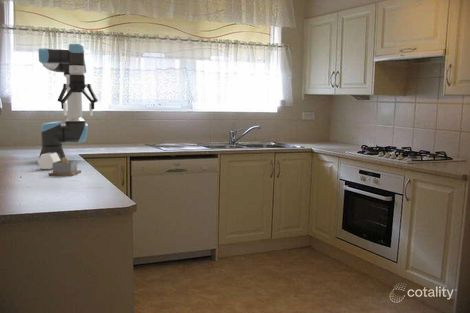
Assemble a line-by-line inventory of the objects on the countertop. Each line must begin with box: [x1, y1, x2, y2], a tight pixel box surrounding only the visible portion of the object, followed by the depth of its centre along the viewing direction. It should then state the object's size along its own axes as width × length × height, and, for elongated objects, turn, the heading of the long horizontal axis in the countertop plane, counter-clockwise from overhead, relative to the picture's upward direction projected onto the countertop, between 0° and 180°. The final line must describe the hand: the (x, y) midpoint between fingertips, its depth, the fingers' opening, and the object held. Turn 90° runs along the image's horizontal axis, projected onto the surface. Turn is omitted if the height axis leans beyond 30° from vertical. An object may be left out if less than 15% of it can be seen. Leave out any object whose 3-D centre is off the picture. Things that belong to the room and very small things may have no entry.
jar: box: [36, 152, 62, 170], centre depth 270 cm, size 9×8×12 cm
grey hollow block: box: [52, 160, 78, 173], centre depth 249 cm, size 9×9×5 cm
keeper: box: [48, 157, 82, 177], centre depth 249 cm, size 12×12×8 cm
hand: (78, 115), depth 259 cm, fingers open, 13 cm apart
